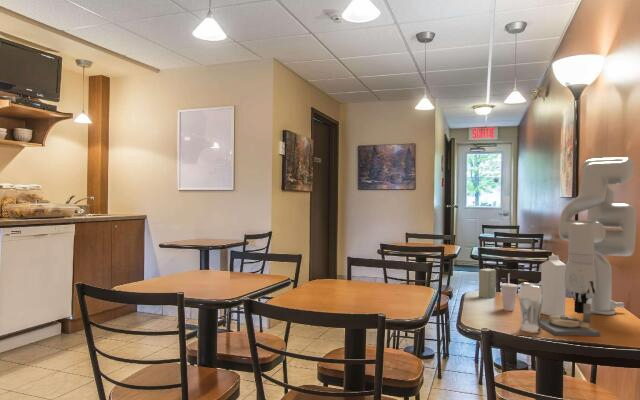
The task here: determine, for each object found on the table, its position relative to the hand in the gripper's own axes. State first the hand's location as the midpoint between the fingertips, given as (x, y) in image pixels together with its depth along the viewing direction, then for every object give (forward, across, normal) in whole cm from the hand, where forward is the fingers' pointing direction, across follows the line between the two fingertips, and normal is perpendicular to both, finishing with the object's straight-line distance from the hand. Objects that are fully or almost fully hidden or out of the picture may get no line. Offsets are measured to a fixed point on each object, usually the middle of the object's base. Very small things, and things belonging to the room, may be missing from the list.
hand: (580, 312), depth 153 cm
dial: (+3, +3, -7) cm, 8 cm away
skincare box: (+5, -46, -10) cm, 47 cm away
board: (+4, +3, -8) cm, 9 cm away
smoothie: (+5, -23, -13) cm, 27 cm away
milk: (+5, -15, 0) cm, 16 cm away
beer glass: (+4, +4, -21) cm, 22 cm away
